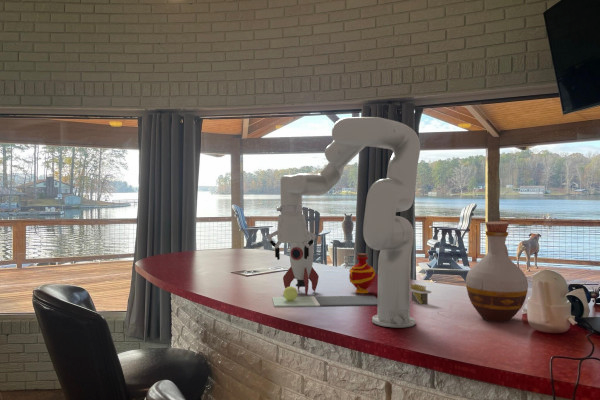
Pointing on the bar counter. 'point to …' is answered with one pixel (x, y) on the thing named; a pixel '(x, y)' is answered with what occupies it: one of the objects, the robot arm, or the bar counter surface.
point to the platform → (419, 294)
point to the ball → (290, 293)
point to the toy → (301, 267)
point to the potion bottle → (362, 274)
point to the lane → (326, 301)
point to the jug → (496, 279)
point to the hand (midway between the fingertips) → (291, 259)
